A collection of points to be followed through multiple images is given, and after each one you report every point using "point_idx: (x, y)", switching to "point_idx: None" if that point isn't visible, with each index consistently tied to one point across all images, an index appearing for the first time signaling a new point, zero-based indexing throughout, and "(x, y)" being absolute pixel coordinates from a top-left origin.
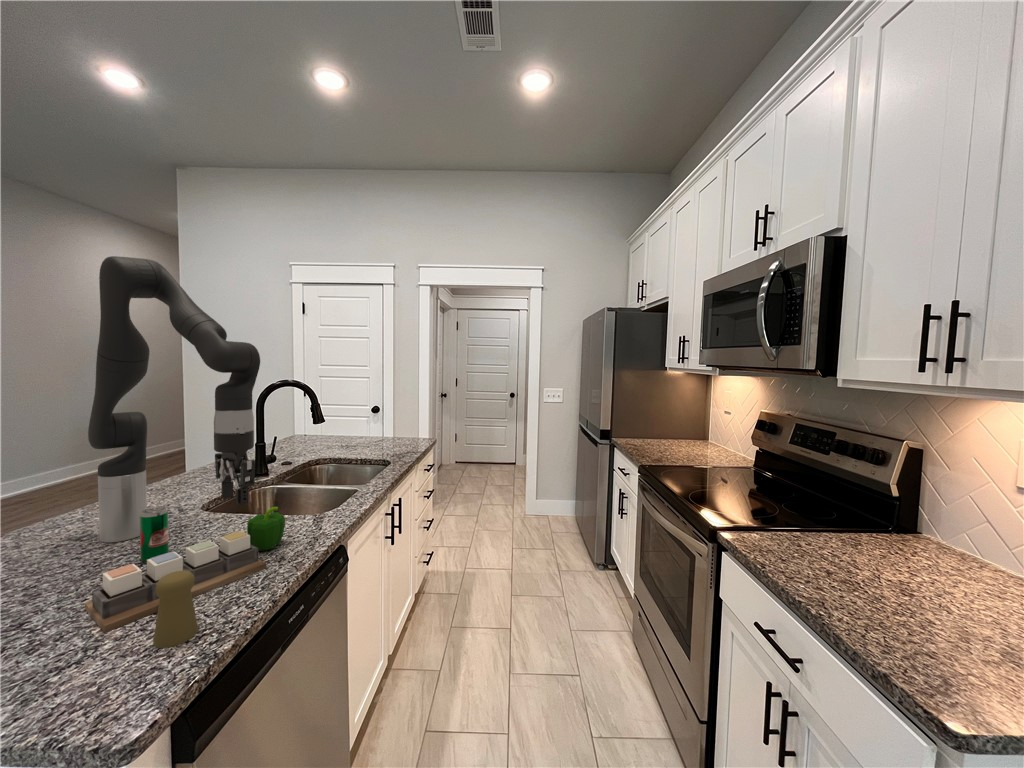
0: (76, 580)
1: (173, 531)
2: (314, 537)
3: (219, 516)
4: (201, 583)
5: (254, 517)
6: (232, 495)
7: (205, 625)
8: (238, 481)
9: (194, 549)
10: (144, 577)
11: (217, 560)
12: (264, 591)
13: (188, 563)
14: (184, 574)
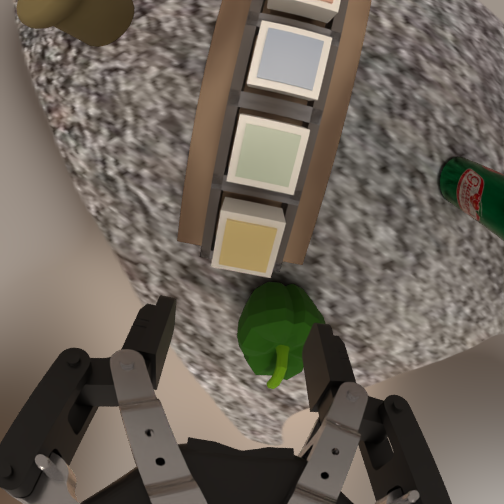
0: (488, 77)
1: (500, 270)
2: (220, 357)
3: (469, 338)
4: (220, 114)
5: None
6: (303, 354)
7: (88, 56)
8: (116, 390)
9: (260, 126)
10: None
11: None
12: (96, 171)
13: None
14: (22, 6)
